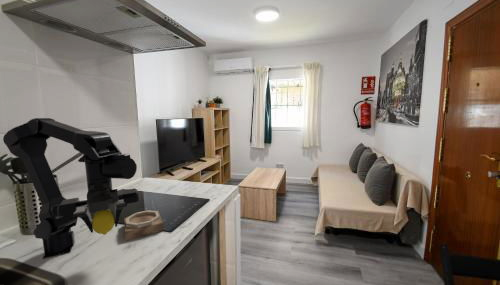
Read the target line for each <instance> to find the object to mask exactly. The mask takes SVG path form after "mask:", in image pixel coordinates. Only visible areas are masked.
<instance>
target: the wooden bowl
mask: <svg viewBox="0 0 500 285" xmlns="http://www.w3.org/2000/svg"><path fill="white" fill-rule="evenodd" d="M123 221H124V222H123V223H124V236H125V241H128V240H132V239H135V238H136V239H137V238H139V237H143V236H147V235H150V234H154V233H158V232H162V231H164V222H163V219H162V217H161V215H160V212H159V210H143V211H142V210H141V211H138V212H135V213H133V214H130V215H129V216H127V217H124V219H123Z"/></svg>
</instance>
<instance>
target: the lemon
mask: <svg viewBox="0 0 500 285" xmlns="http://www.w3.org/2000/svg"><path fill="white" fill-rule="evenodd" d="M91 219H92V227H93V232H95V233H96V234H100V235H104V236H105V235H106V234H108V233H109V232H110V231H112V230H113V228H114V227H115V214H114V213H113V211H112V210H110V209H108V210H101V211H96V212H94V214H93V217H92V218H91Z"/></svg>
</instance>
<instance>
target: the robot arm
mask: <svg viewBox="0 0 500 285" xmlns="http://www.w3.org/2000/svg"><path fill="white" fill-rule="evenodd" d="M50 138H53V139H57V140H58V141H59V140H60V141H62V142H64V143H67V144H69V145H71V146H72V147H73V149H74V150H75V151H77V152H78V153H80V154H82V156H81V157H80V158H78V160H77V162H78V163H84V167H85V176H86V177H85V178H86V184H87V193H86V199H85V200H80V198H79V197H73V198H68V199H67V198H65V197H64V195H63V194H62V191H61V189H60V187H59V185H58V183H57V180H56V178H55V175H54V173H53V171H52V169H51V166H50V164H49V161H48V160H47V157H46V155H45V153H46V150H47V148H48V142H47V140H49V139H50ZM2 141H3V144H4V145H5V146H6V148H7V149H8V150H9V152H10V154H12V155H13V156H15V157H17V158H18V159H20V160H21V161H22V162H23V165H24V167H25V170H26V171H27V174H28V177H29V179H30V181H31V183H32V186H33V187H34V190H35V192H36V195H37V197H38V198H39V201H40V203H41V206H40V210H39V213H38V218H39V223H38V224H37V226H36V227H35V229H34V230H33V235H34V237H35V239H38V240H39V239H40V240H42V246H43V255H42V259H47V258H51V257H55V256H59V255H62V254H66V253H67V254H68V253H69V252H71V251H72V249H73V247H74V246H75V243H76V241H75V233H74V231H73V230H72V228H73V227H76V226H77V222H78V218H80V219H81V220H82V221H83V222H84V223H85V226H87V228H88V230H89V232H90V233H91V234H92V233H94V229H93V227H92V219H93V218H92V216H91V215H92V214H93V213H94V214H95V213H96V212H97V211H101V210H108V209H109V210H110V209H111V207H112V204H115V212H114V213H115V214H114V217H115V224H114V227H115V228H117V227H118V224H119V221H120V216H121V214H122V211H123V210H124V208H126V207H128V206H129V204H133V203H138V202H139V201H140V198H139V191H138V189H137V188H135V187H134V188H128V189H122V193H120V194H119V191H118V188H115V189H114V188H113V182H112V179H118V180H119V179H120V180H122V179H123V180H131V179H132V178H133V177H135V175H136V173H137V170H138V167H137V166H138V165H137V164H136V161H135V160H134V159H133V158H132V157H131V154H130V153H124V154H122V153H123V152H121V150H120V148H119V147H118V146H117V145H116V143H115V142H114V141H113V139H112V138H111V135H110V134H109V133H107V132H103V131H93V130H83V129H81V128H78V127H75V126H71V125H69V124H66V123H63V122H60V121H57V120H55V119H54V118H50V117H45V118H44V117H36V118H31V119H29V121H27V122H26V123H23V124H20V125H18V126H15V127H13V128H11V129H10V130H8V131H7V132H6V133H5V134H4V135H3V140H2Z"/></svg>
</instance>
